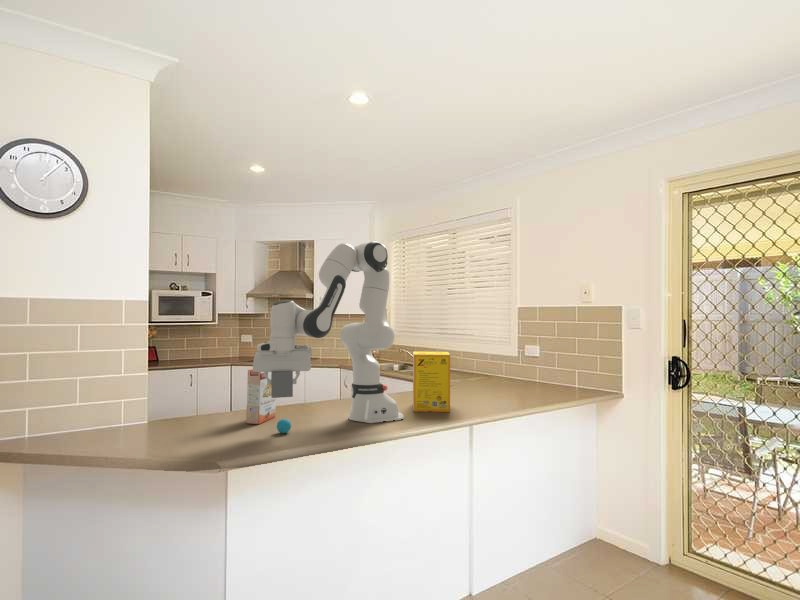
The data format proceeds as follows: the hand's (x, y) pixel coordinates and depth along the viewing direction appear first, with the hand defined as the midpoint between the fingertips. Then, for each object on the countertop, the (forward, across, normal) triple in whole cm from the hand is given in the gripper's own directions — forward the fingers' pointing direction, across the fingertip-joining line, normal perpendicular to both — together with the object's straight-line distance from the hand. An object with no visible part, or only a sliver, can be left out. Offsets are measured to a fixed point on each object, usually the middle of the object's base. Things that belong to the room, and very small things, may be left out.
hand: (281, 384), depth 168 cm
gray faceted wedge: (+4, 0, 0) cm, 4 cm away
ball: (+15, -1, 0) cm, 15 cm away
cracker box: (+18, +7, -22) cm, 29 cm away
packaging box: (+17, -67, -30) cm, 76 cm away
